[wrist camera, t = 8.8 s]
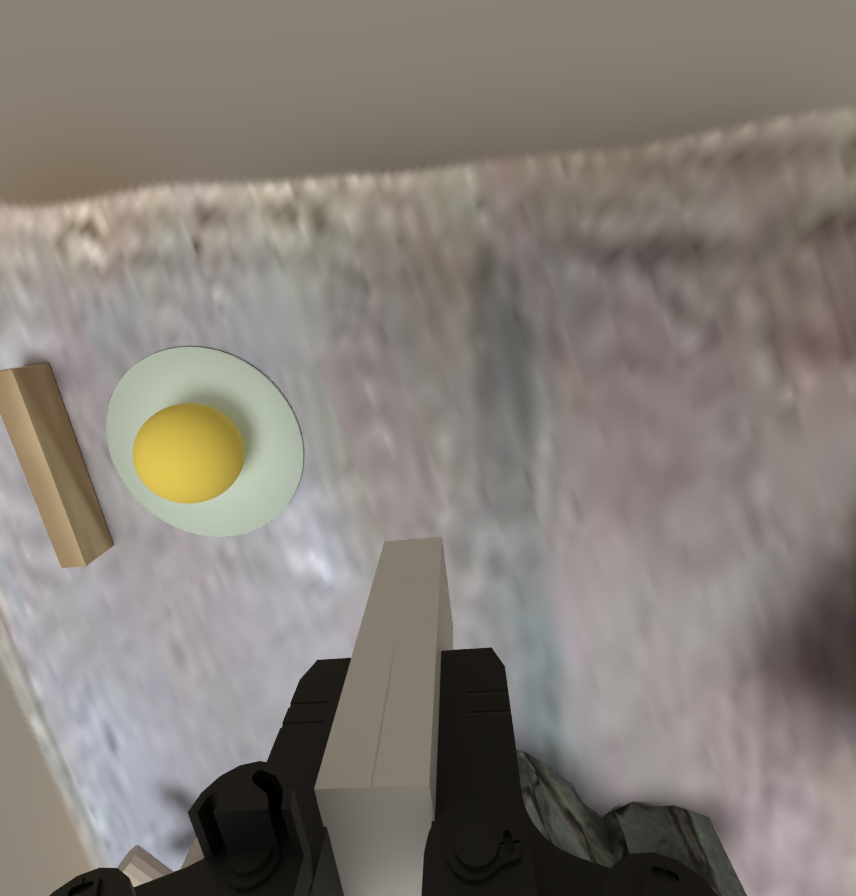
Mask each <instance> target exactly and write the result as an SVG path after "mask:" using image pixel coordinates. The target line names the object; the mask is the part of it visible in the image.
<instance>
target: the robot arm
mask: <svg viewBox="0 0 856 896" xmlns="http://www.w3.org/2000/svg"><path fill="white" fill-rule="evenodd" d="M290 704H291V706H290V708H288V710H287V713H286V715H285V718H284V720H283V726H282V728H280V730H279V733H278V735H277V738H276V740H275V743H274V745H273V748H272V750H271V753H270V755H269V758H268V760H267V762H261V761H258V762H254V763H249V764H245V765H240V766H238V767H236V768H234V769H233V770H231V771H229V772H227V773H225V774H223V775H221V776H220V777H219V778H218V779H216V780H215V781H214V782H213V783H212V784H211V785H210V786H209V787H207V788H206V789H205V790H204V791H203V792H202V793H201V794H200V796H199V797H198V799H197V800H196V802H195V803H194V805H193V806H192V807H191V809H190V810H189V812H188V814H189V817H190V820H191V823H192V825H193V828H194V831H195V833H196V836H197V839H198V842H199V844H200V847H201V850H202V853H203V855H204V858H203V859H202V860H200V861H198V862H196V863H194V864H192V865H190V866H188V867H186V868H183V869H181V870H178V871H175V872H173V873H170V874H167V875H165V876H162V877H160V878H157V879H154V880H152V881H149V882H146V883H144V884H141V885H139V886H136V887H133V885H132V883H131V880H130V878H129V877H128V876H127V875H126V874H124V873H123V872H122V871H121V870H119V869H118V868H98V869H95V870H92V871H90V872H87V873H84V874H82V875H79V876H77V877H75V878H74V879H72V880H71V881H69V882H68V883H67V884H65V885H63V886H62V887H60V888H59V889H57V890H56V891H54V892H53V893H52V894H51V895H50V896H718V895H717V894H716V893H715V891H714V890H713V889H712V888H711V887H710V886H709V884H708V883H707V882H706V881H705V880H704V879H703V877H701V876H700V875H699V874H697V873H696V872H694V871H693V870H691V869H690V868H689V867H687V866H686V865H684V864H683V863H681V862H680V861H679V860H676V859H673V858H670V857H667V856H664V855H661V854H658V853H655V852H646V853H632V854H629V855H628V856H626V857H625V858H623V859H621V860H620V861H618V862H617V863H615V864H614V865H613V866H612V868H608V867H605V866H602V865H599V864H596V863H594V862H591V861H588V860H585V859H582V858H579V857H576V856H574V855H572V854H570V853H568V852H566V851H563V850H561V849H559V848H558V847H557V846H555V845H554V844H553V843H552V842H550V841H549V840H548V839H546V838H545V837H544V836H543V834H542V833H541V832H540V831H539V830H538V829H537V827H536V826H535V825H534V824H533V822H532V820H531V818H530V816H529V814H528V812H527V810H526V807H525V804H524V800H523V796H522V790H521V783H520V775H519V768H518V760H517V753H516V746H515V738H514V731H513V724H512V716H511V709H510V701H509V694H508V687H507V679H506V672H505V666H504V665H503V663H502V662H501V660H500V659H499V658H498V656H497V655H496V653H495V652H494V650H493V649H492V648H477V649H461V650H453V622H452V614H451V606H450V598H449V590H448V581H447V573H446V565H445V557H444V549H443V541H442V537H433V538H421V539H409V540H397V541H385V542H384V545H383V549H382V552H381V556H380V559H379V563H378V566H377V570H376V573H375V577H374V580H373V584H372V588H371V591H370V595H369V598H368V602H367V605H366V609H365V612H364V616H363V619H362V623H361V626H360V630H359V633H358V637H357V640H356V644H355V647H354V651H353V654H352V658H342V659H325V660H317V661H316V662H315V663H314V665H313V666H312V667H311V668H310V669H309V670H308V671H307V672H306V674H305V675H304V676H303V677H302V678H301V679H300V681H299V683H298V686H297V688H296V691H295V693H294V696H293V698H292V701H291V703H290Z"/></svg>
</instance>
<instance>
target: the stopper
mask: <svg viewBox="0 0 856 896" xmlns="http://www.w3.org/2000/svg"><path fill="white" fill-rule="evenodd" d="M0 414H1V416H2V419H3V421H4V424H5V426H6V429H7V431H8V434H9V436H10V439H11V442H12V444H13V447H14V449H15V452H16V454H17V457H18V459H19V462H20V464H21V467H22V469H23V472H24V474H25V477H26V479H27V482H28V484H29V487H30V489H31V492H32V494H33V497H34V499H35V502H36V504H37V507H38V509H39V512H40V515H41V517H42V520H43V522H44V525H45V527H46V530H47V532H48V535H49V537H50V540H51V542H52V545H53V547H54V550H55V552H56V555H57V557H58V560H59V562H60V565H61V567H62V568H67V567H78V566H87V565H88V564H89V563H91V562H92V561H93V560H95V559H96V558H97V557H99V556H100V555H101V554H103V553H104V552H105V551H107V550H108V549H109V548H111V547H112V546H113V542H112V539H111V537H110V534H109V531H108V528H107V525H106V522H105V520H104V517H103V514H102V511H101V508H100V506H99V503H98V500H97V497H96V494H95V491H94V489H93V486H92V483H91V480H90V477H89V474H88V472H87V469H86V466H85V463H84V460H83V458H82V455H81V452H80V449H79V446H78V443H77V441H76V438H75V435H74V432H73V429H72V427H71V424H70V421H69V418H68V415H67V412H66V410H65V407H64V404H63V401H62V398H61V396H60V393H59V390H58V387H57V384H56V381H55V379H54V376H53V373H52V370H51V367H50V365H49V363H47V364H39V365H31V366H23V367H17V368H11V369H5V370H0Z"/></svg>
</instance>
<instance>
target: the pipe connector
mask: <svg viewBox="0 0 856 896" xmlns="http://www.w3.org/2000/svg"><path fill="white" fill-rule="evenodd" d="M203 858H204V855H203V853H202V850H201V847H200V844H199V842H198V839H197V836H196V838H195V840H194V842H193V844H192V846H191V848H190V850H189V852H188V855H187V857H186V859H185V861H184V863H183V865H182V867H181V869H183V868H186V867H188V866H190V865H192V864H194V863H196V862H198V861H200V860H202V859H203ZM118 869H119V870H121V871H122V872H123V873H124V874H126V875H127V876H128V877H129V878H130V880H131V883H132V885H133V887H136V886H139V885H141V884H144V883H146V882H149V881H152V880H154V879H157V878H160V877H162V876H165V875H167V874H170V873H173V871H172V870H171V869H169V868H168V867H167V866H165V865H164V864H163V863H161V862H160V861H159V860H157V859H156V858H155V857H153V856H152V855H151V854H149V853H148V852H147V851H145V850H144V849H143V848H141V847H140V846H139V845H137V846H135V847H134V848H132V849H131V850H130V851H129V852H128V854H127V855H126V856H125V857H124V859H123V860H122V862H121V863H120V865H119V867H118ZM181 869H180V870H181Z"/></svg>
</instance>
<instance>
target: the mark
mask: <svg viewBox="0 0 856 896" xmlns="http://www.w3.org/2000/svg"><path fill="white" fill-rule="evenodd" d="M183 403H195V404H202V405H206V406H209V407H212V408H214V409H216V410H218V411H220V412H221V413H223V414H224V415H226V416H227V417H228V418H229V419H230V420H231V421H232V422H233V423H234V424H235V426H236V427H237V429H238V430H239V432H240V434H241V436H242V439H243V442H244V448H245V458H244V464H243V468H242V470H241V472H240V474H239V476H238V478H237V479H236V481H235V482H234V483H233V485H232V486H231V487H230V488H229V489H228V490H226V491H225V492H224V493H222V494H221V495H219V496H217V497H215V498H213V499H211V500H208V501H205V502H200V503H192V504H185V503H177V502H173V501H169V500H167V499H164V498H162V497H160V496H158V495H156V494H155V493H153V492H152V491H151V490H150V489H148V488H147V487H146V486H145V484H144V483H143V482H142V481H141V479H140V478H139V476H138V474H137V472H136V469H135V466H134V462H133V446H134V441H135V438H136V436H137V433H138V431H139V430H140V428H141V426H142V425H143V424H144V423H145V422H146V421H147V420H148V419H149V418H150V417H151V416H152V415H154V414H155V413H157V412H158V411H160V410H162V409H164V408H166V407H169V406H172V405H176V404H183ZM106 434H107V442H108V447H109V451H110V455H111V458H112V461H113V463H114V466H115V468H116V470H117V472H118V474H119V476H120V478H121V479H122V481H123V483H124V484H125V485H126V487H127V488H128V490H129V491H130V492H131V493H132V495H133V496H134V497H135V498H136V499H137V500H138V501H139V502H140V503H141V504H142V505H143V506H144V507H145V508H146V509H147V510H149V511H150V512H151V513H153V514H154V515H155V516H157V517H158V518H160V519H161V520H163V521H165V522H167V523H168V524H170V525H172V526H175V527H177V528H179V529H181V530H184V531H187V532H190V533H194V534H199V535H203V536H213V537H229V536H236V535H241V534H245V533H248V532H252V531H254V530H256V529H258V528H261V527H263V526H264V525H266V524H267V523H269V522H271V521H272V520H273V519H274V518H276V517H277V516H278V515H279V514H280V513H281V512H282V511H283V510H284V509H285V507H286V506H287V505H288V504H289V502H290V501H291V499H292V498H293V496H294V494H295V492H296V490H297V488H298V485H299V482H300V479H301V476H302V471H303V463H304V448H303V441H302V435H301V432H300V428H299V424H298V422H297V420H296V417H295V415H294V412H293V411H292V409H291V407H290V405H289V404H288V402H287V400H286V399H285V397H284V396H283V395H282V393H281V392H280V391H279V389H278V388H277V387H276V386H275V385H274V384H273V383H272V382H271V381H270V380H269V379H268V378H267V377H266V376H265V375H264V374H262V373H261V372H260V371H259V370H258V369H256V368H255V367H253V366H251V365H250V364H248V363H247V362H245V361H243V360H241V359H239V358H237V357H235V356H233V355H230V354H228V353H225V352H222V351H219V350H214V349H210V348H203V347H178V348H173V349H168V350H163V351H161V352H158V353H155V354H152V355H150V356H149V357H147V358H145V359H143V360H141V361H140V362H139V363H137V364H136V365H135V366H133V367H132V368H131V369H130V370H129V371H128V372H127V373H126V374H125V375H124V376H123V378H122V379H121V381H120V382H119V384H118V385H117V387H116V389H115V391H114V393H113V395H112V397H111V401H110V404H109V407H108V413H107V420H106Z"/></svg>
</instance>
